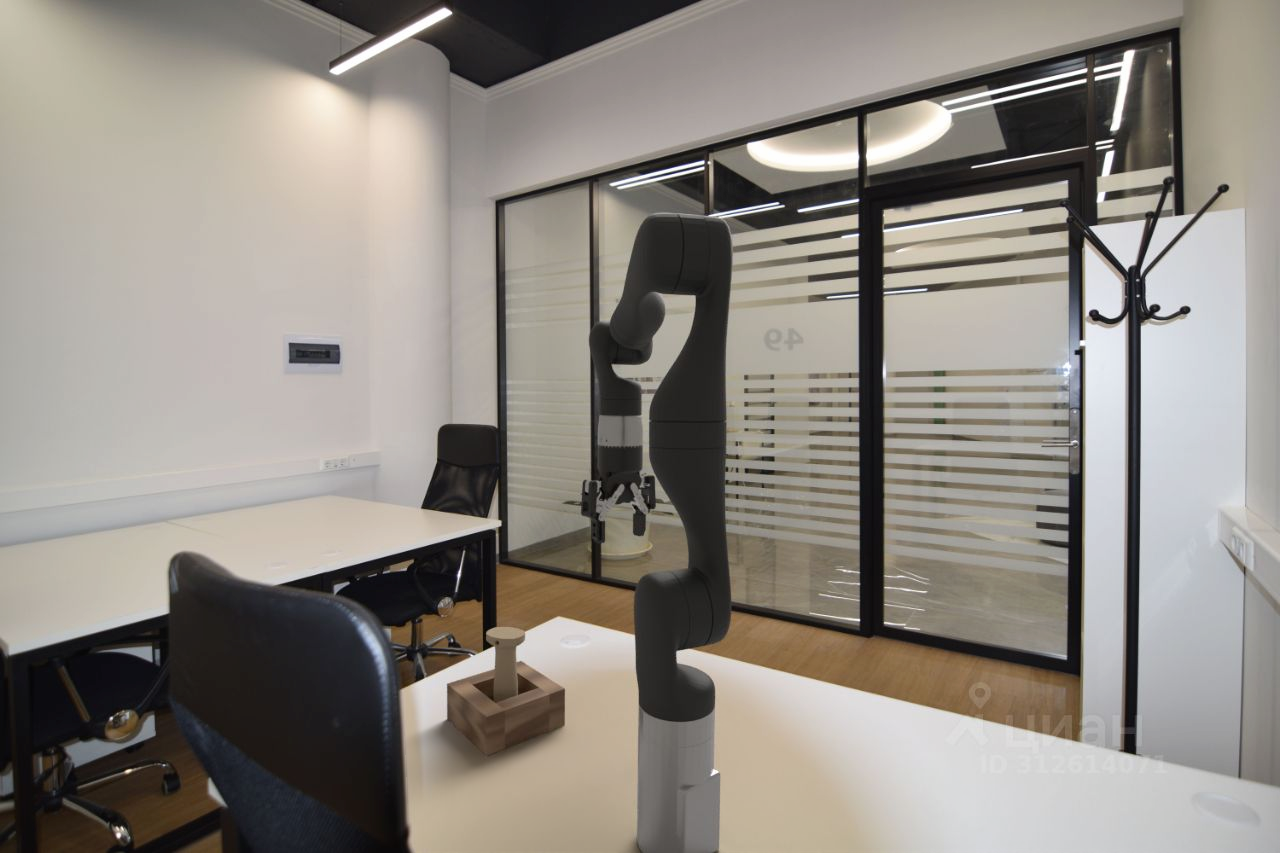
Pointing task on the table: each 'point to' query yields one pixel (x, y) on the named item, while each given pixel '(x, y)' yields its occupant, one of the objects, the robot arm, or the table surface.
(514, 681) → the handle
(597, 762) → the table surface
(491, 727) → the wooden block
